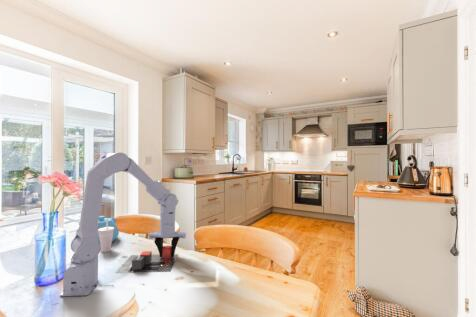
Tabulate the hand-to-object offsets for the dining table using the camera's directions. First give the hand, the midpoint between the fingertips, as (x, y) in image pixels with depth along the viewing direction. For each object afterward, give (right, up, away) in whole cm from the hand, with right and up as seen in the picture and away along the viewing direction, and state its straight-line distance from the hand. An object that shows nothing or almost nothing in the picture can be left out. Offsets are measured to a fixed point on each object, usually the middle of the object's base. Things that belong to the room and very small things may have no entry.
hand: (167, 256), depth 93 cm
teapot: (-41, -2, +21) cm, 46 cm away
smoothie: (-30, -2, +9) cm, 32 cm away
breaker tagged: (-6, 0, -6) cm, 9 cm away
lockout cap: (0, 0, 0) cm, 0 cm away
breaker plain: (-7, 0, -11) cm, 13 cm away
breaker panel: (-5, -2, -5) cm, 8 cm away
